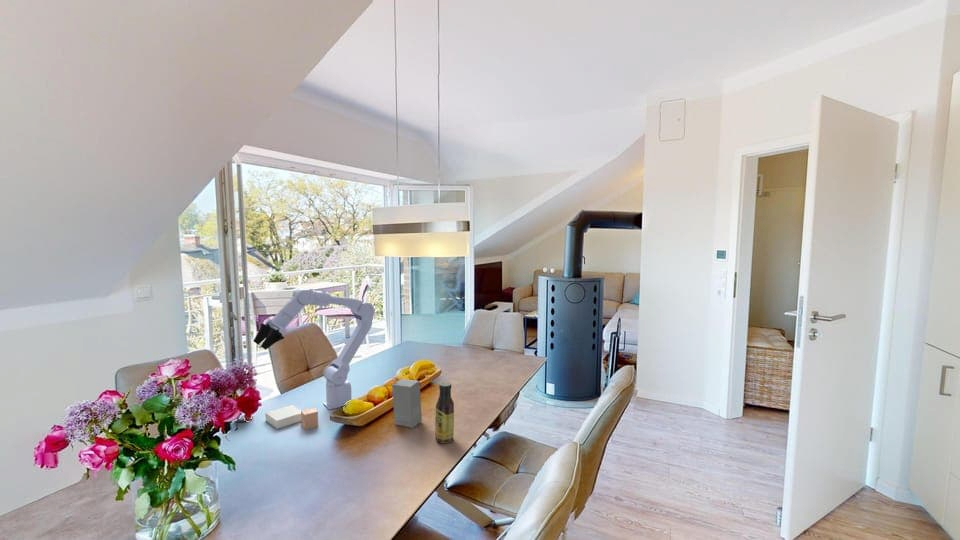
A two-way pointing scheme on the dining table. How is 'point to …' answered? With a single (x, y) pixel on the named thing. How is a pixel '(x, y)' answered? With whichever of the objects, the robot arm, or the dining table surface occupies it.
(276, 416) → the marble slab
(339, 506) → the dining table surface
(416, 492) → the dining table surface
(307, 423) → the wooden block
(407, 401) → the skincare box
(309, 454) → the dining table surface
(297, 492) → the dining table surface
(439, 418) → the sauce bottle
